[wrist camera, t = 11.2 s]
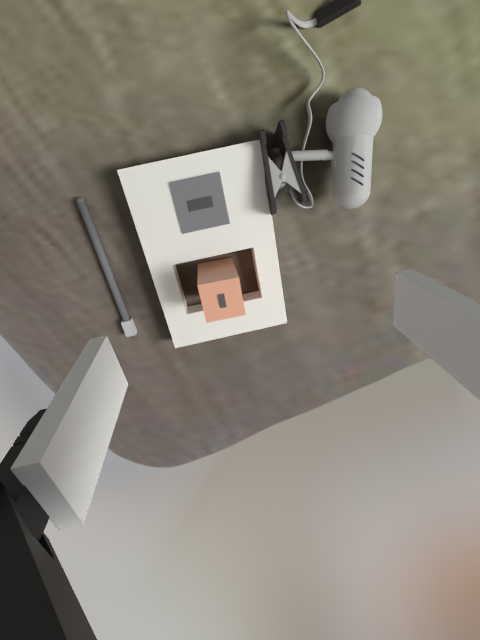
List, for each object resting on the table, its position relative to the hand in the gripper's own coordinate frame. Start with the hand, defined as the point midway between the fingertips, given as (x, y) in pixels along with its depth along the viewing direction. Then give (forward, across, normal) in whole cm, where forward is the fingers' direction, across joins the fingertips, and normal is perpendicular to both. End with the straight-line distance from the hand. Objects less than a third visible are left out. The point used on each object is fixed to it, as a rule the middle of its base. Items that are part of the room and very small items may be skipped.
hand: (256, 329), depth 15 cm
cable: (+24, -14, -1) cm, 28 cm away
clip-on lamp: (+25, +11, +9) cm, 29 cm away
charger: (+24, -2, -5) cm, 25 cm away
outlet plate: (+24, -2, -2) cm, 24 cm away
